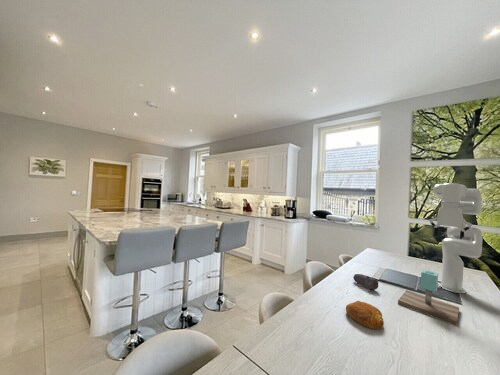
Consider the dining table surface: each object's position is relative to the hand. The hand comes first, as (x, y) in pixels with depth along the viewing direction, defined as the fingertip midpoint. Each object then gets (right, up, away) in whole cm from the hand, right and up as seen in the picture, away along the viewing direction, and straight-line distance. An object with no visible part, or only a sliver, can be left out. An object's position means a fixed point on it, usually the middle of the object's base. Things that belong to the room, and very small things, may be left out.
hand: (448, 236), depth 115 cm
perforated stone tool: (-39, -34, +14) cm, 54 cm away
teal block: (-16, -25, -6) cm, 31 cm away
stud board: (-17, -35, -6) cm, 39 cm away
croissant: (-56, -33, -19) cm, 68 cm away
